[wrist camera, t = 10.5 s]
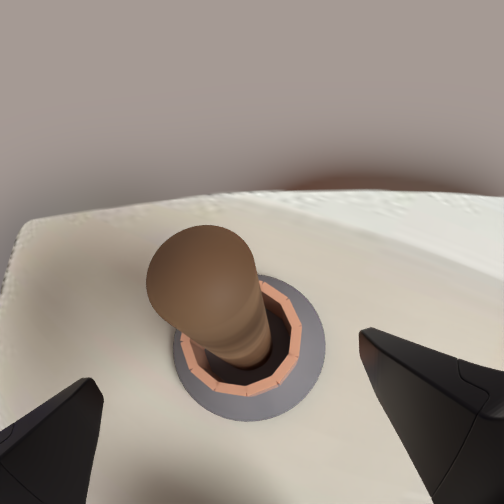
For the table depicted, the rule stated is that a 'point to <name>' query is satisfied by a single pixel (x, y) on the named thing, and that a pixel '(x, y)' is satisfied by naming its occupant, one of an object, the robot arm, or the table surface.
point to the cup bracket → (267, 376)
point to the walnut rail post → (212, 294)
